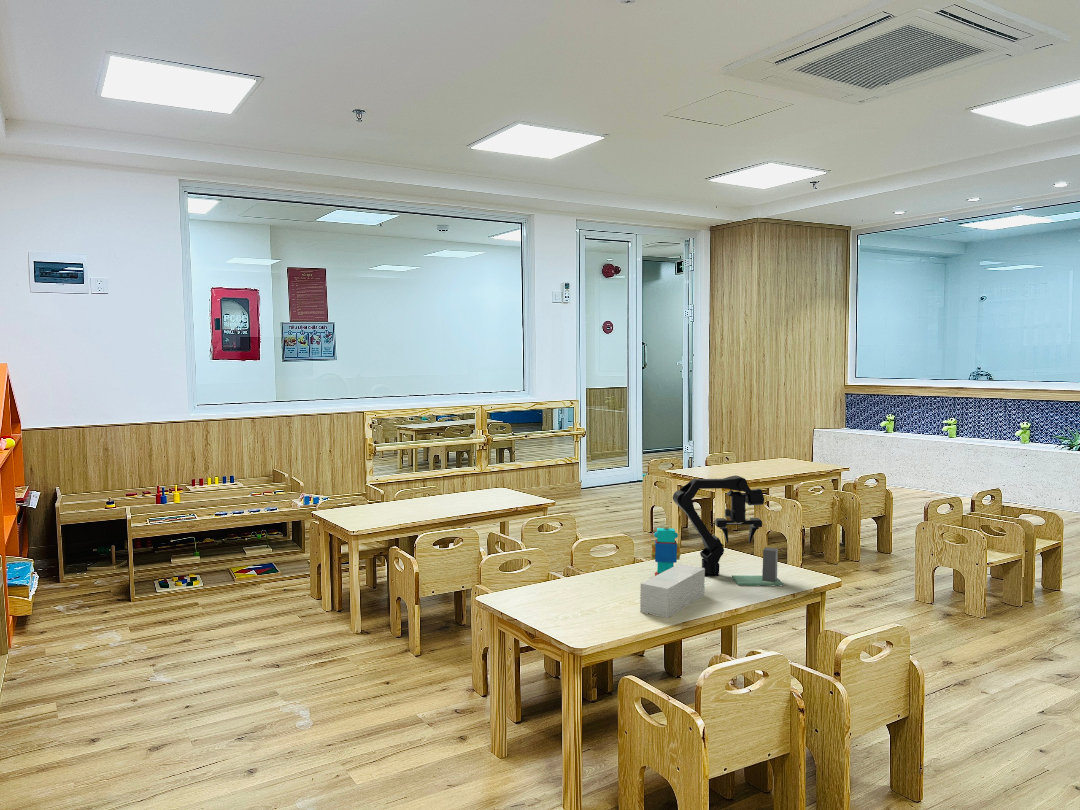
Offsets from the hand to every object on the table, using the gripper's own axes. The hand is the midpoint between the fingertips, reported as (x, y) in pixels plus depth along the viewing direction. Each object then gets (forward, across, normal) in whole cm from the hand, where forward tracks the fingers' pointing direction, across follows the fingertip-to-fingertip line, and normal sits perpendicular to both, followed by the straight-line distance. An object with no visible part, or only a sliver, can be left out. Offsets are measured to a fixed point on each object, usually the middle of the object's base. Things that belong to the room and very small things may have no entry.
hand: (738, 542), depth 331 cm
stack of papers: (+12, +33, +42) cm, 54 cm away
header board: (+13, -5, +12) cm, 19 cm away
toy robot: (+12, +32, +11) cm, 36 cm away
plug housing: (+12, -10, +12) cm, 20 cm away
